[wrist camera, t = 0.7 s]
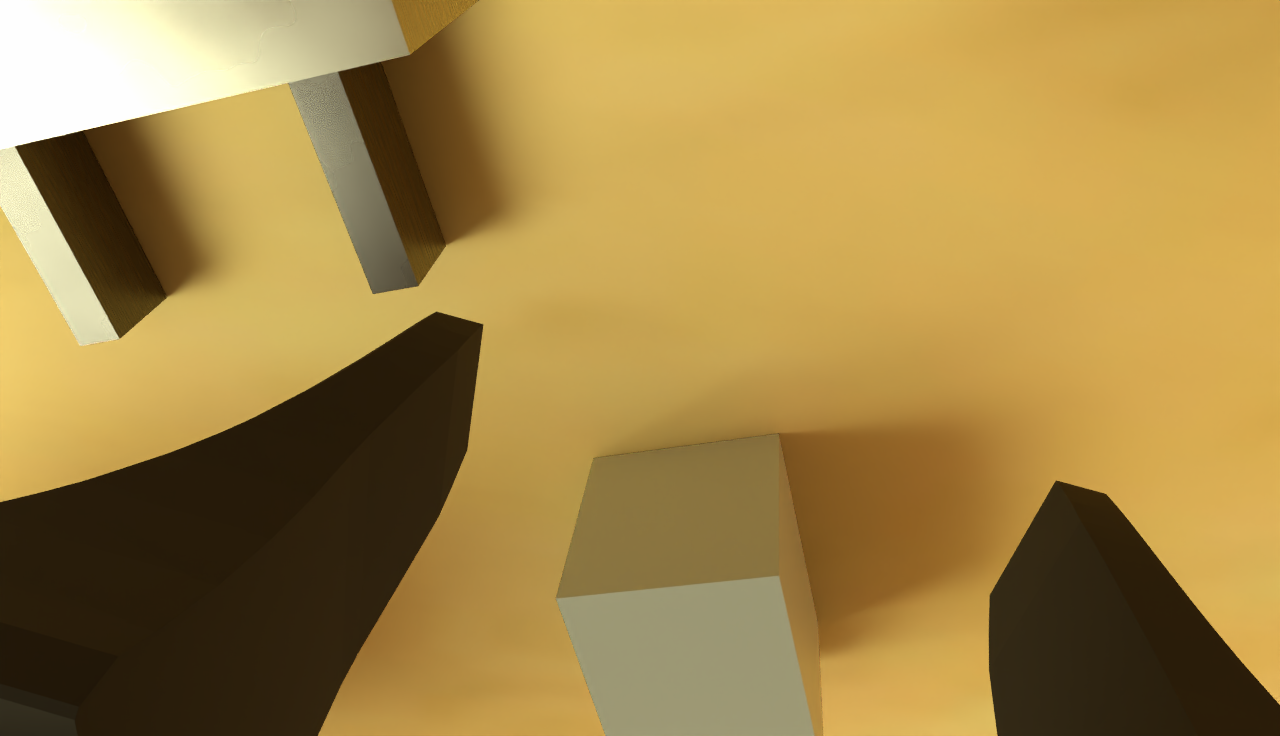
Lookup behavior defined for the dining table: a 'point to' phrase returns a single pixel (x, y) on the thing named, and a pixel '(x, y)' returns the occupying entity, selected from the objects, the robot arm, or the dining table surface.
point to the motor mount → (187, 75)
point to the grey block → (694, 594)
